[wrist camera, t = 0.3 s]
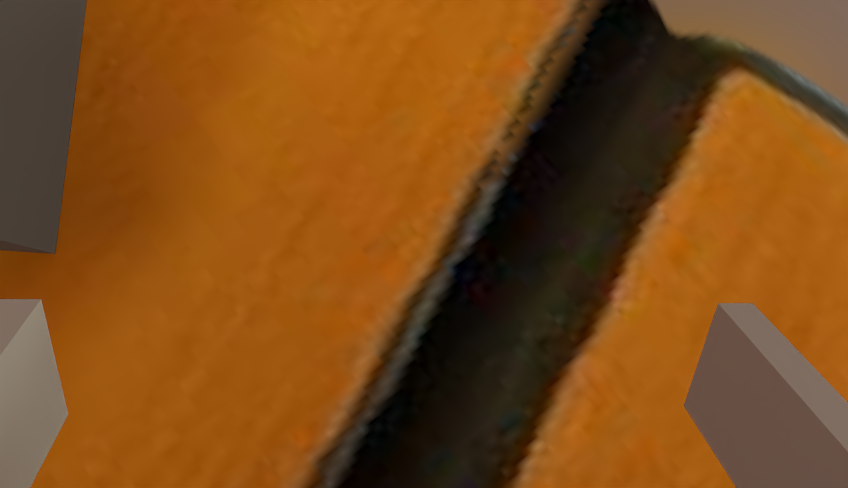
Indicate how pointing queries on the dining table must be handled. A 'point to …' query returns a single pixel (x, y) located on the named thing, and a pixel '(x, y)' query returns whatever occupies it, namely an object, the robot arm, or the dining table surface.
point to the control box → (36, 116)
